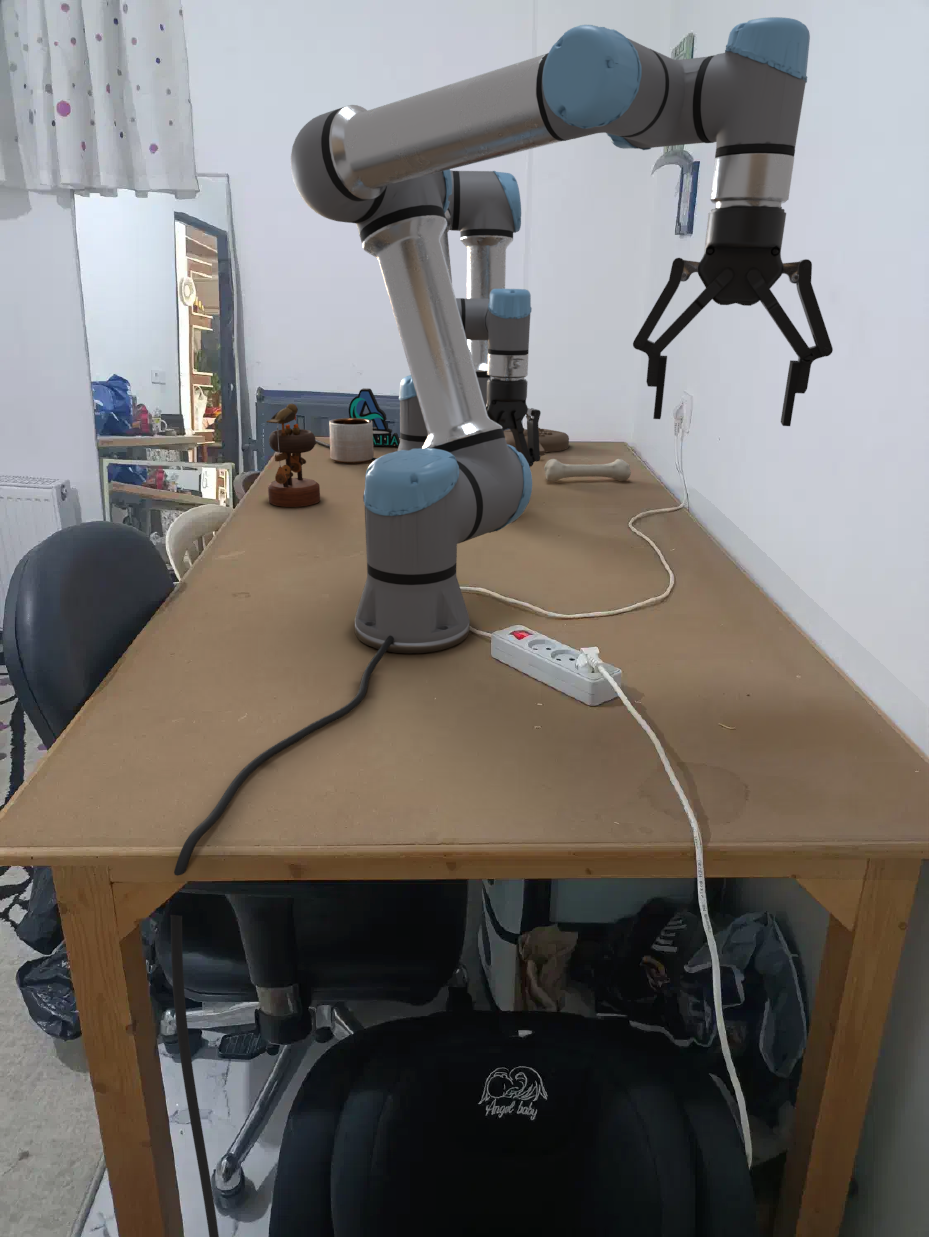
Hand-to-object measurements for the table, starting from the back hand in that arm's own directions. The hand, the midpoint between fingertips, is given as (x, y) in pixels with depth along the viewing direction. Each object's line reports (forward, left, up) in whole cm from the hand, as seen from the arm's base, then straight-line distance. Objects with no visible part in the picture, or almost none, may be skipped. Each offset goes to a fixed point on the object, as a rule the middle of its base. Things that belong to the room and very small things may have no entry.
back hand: (503, 499), depth 165 cm
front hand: (+69, -9, +26) cm, 75 cm away
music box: (-28, -34, -4) cm, 44 cm away
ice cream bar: (-57, +38, -4) cm, 69 cm away
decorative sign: (-79, -2, -4) cm, 79 cm away
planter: (-62, -11, -4) cm, 63 cm away
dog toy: (-21, +32, -4) cm, 39 cm away
